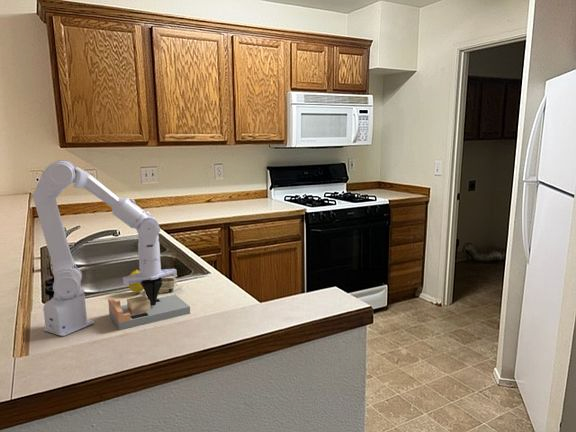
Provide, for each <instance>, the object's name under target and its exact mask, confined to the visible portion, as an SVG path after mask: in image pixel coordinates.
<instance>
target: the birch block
mask: <svg viewBox="0 0 576 432" xmlns="http://www.w3.org/2000/svg"><path fill="white" fill-rule="evenodd" d="M126 305H127V307H128V310H129V311H130V313H131V314H132V315H134V314H139V313H143V312H148V311H151V308H150V300H149V299H148V298H147V295H140V296H136V297H131V298H126Z"/></svg>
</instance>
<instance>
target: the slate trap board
mask: <svg viewBox="0 0 576 432" xmlns="http://www.w3.org/2000/svg"><path fill="white" fill-rule="evenodd" d="M120 306H121V307H120V308H121V309H122V311H123V314H127V313H130V311H129V310H128V307H127V304H124V305H120ZM150 308H151V311H148V312H143V313H139V314H134V315H132V314H131V313H130V317H131V320H130V321H125V322H121V323H119V322H118V321H117V319H116V318H115V317H114V315H113V314H112V312H111V311H110V309H109V308H108V314H109V316H110V318H111V319H112V321H113V322H114V323H113V324H115V326H116V327H117V329H118V330H119V331H122V330H126V329H129V328H130V329H131V328H134V327H138V326H143V325H146V324H147V325H148V324H151V323H154V322H156V323H157V322H159V321H164V320H167V319H172V318H175V317H180V316H181V317H182V316H185V315H188V314H191V307H190V305H188V304H187V302H185V301H184V300H183V299H181V298H180V296H178V295H177V294H171V295H167V296H162V297H157V300H156V305H153V306H151V305H150Z"/></svg>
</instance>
